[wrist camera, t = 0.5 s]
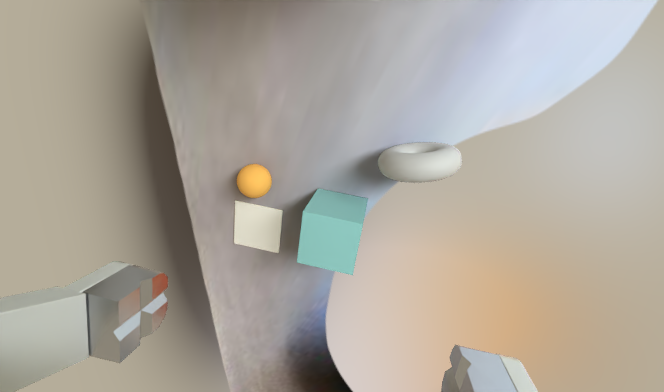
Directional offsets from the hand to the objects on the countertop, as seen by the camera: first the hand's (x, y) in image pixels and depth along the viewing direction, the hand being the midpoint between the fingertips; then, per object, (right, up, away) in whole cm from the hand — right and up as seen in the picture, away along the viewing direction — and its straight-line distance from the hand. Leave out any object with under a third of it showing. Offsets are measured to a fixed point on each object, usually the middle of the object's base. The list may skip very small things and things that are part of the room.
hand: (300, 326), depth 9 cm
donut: (+12, +10, +35) cm, 38 cm away
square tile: (-11, -2, +44) cm, 45 cm away
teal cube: (+2, 0, +40) cm, 40 cm away
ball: (-11, +6, +38) cm, 40 cm away
